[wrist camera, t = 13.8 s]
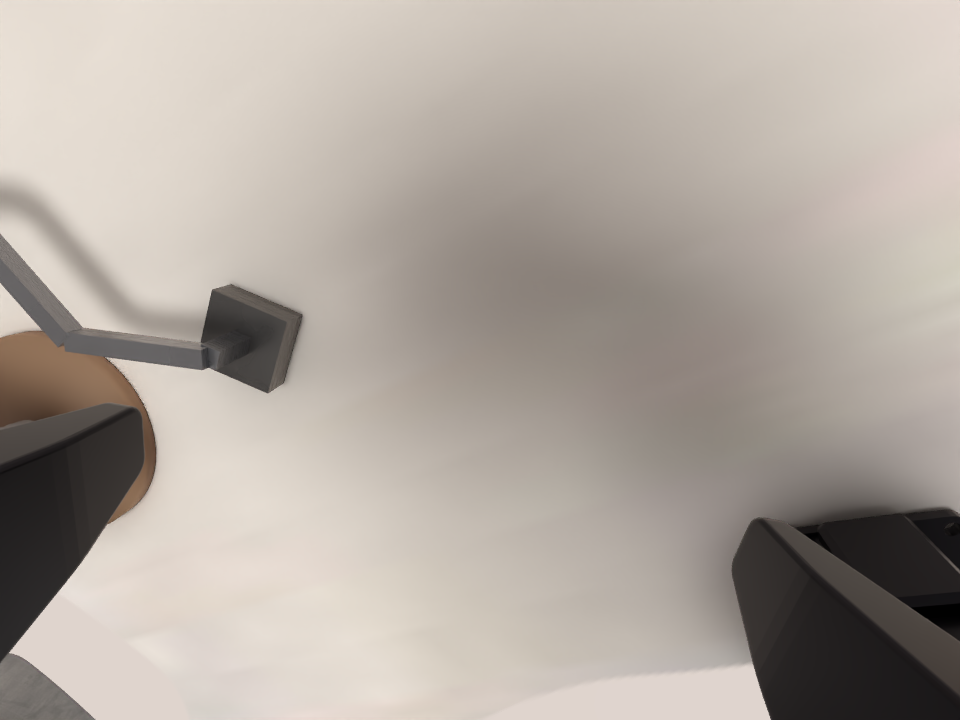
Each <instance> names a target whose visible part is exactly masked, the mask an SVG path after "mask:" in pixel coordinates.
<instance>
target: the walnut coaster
mask: <svg viewBox="0 0 960 720" xmlns="http://www.w3.org/2000/svg"><path fill="white" fill-rule="evenodd" d="M103 403H117V404H122V405H128V406H133V407H136V408H137V409H139V410H140V412H141V414H142V418H143V431H144V448H145V460H144V465H143V468H142V470H141V472H140V474H139V476H138V477H137V479H136V480H135V482H134V484H133V485H132V487H131V488H130V490H129V491H128V493H127V494H126V496H125V497H124V499H123V500H122V502H121V503H120V505H119V506H118V508H117V510H116V511H115V513H114V514H113V516H112V517H111V519H110V520H109V522H108V523H107V524H109V523H111V522H113V521H114V520H116V519H117V518H119V517H120V516H122V515H123V514H124V513H126V512H127V511H129V510H130V509H131V508H133V507H134V506H135V505H136V504H137V503H138V502H139V501H140V500H141V499H142V497H143V496H144V495H145V493H146V492H147V490H148V488H149V486H150V484H151V481H152V477H153V474H154V469H155V462H156V449H155V441H154V435H153V431H152V427H151V424H150V421H149V418H148V415H147V413H146V411H145V409H144V407H143V405H142V403H141V401H140V399H139V397H138V396H137V394H136V392H135V391H134V389H133V388H132V386H131V385H130V384H129V382H128V381H127V380H126V379H125V377H124V376H123V375H122V374H121V373H120V372H119V371H118V370H117V369H116V368H115V367H114V366H113V365H112V364H111V363H110V362H109V361H108V360H106V359H105V358H104V357H102V356H94V355H87V354H80V353H72V352H65V348H64V346H62V347H57V346H56V345H55V344H54V343H53V341H52V340H51V339H50V338H49V337H48V336H47V335H46V334H45V332H43V331H28V332H22V333H17V334H13V335H9V336H5V337H2V338H0V428H1V427H5V426H6V425H9V424H13V423H16V422H19V421H23V420H31V421H36V420H40V419H44V418H48V417H52V416H56V415H60V414H64V413H68V412H72V411H76V410H79V409H83V408H87V407H91V406H95V405H99V404H103Z"/></svg>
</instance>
